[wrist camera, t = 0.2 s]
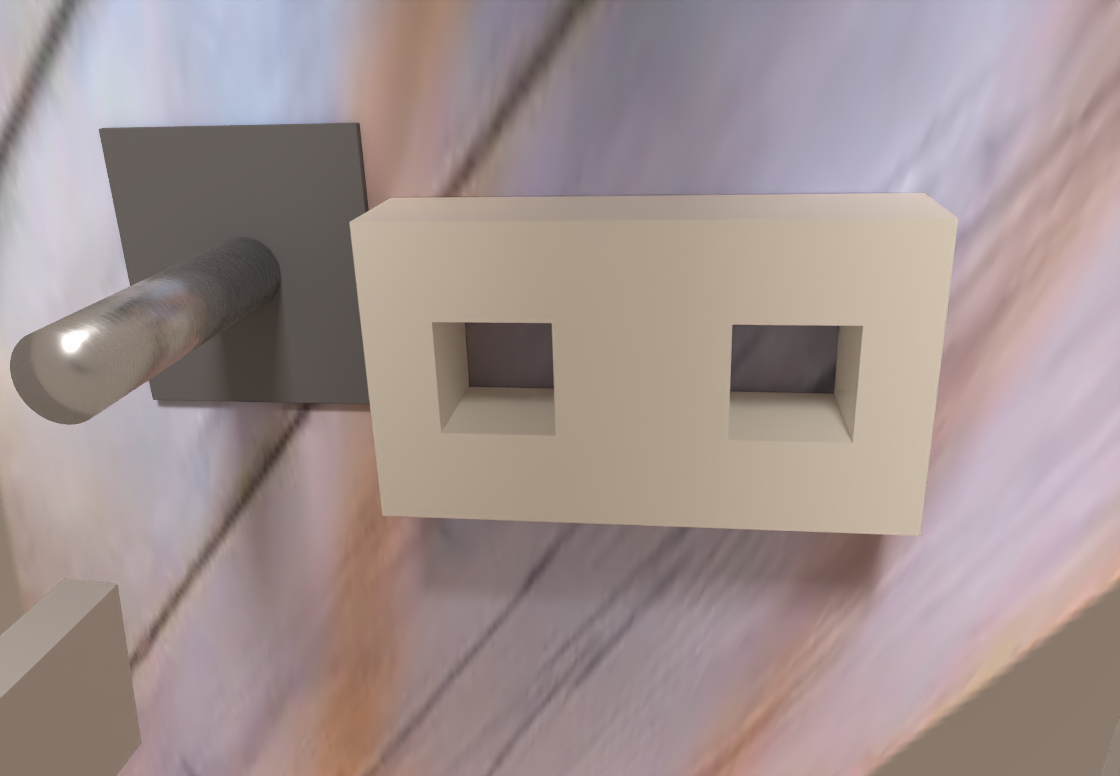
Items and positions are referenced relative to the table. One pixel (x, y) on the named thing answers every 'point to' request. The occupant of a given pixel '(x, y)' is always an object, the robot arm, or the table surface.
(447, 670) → the table surface
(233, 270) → the peg
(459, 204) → the hole block
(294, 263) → the mat
